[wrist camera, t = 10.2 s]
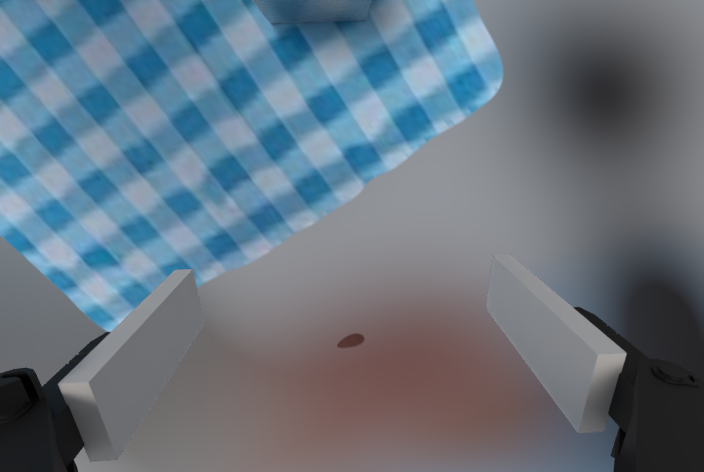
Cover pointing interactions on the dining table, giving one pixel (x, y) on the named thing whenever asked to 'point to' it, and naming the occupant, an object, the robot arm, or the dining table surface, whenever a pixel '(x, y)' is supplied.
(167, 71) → the dining table surface
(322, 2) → the steel cube with knob
